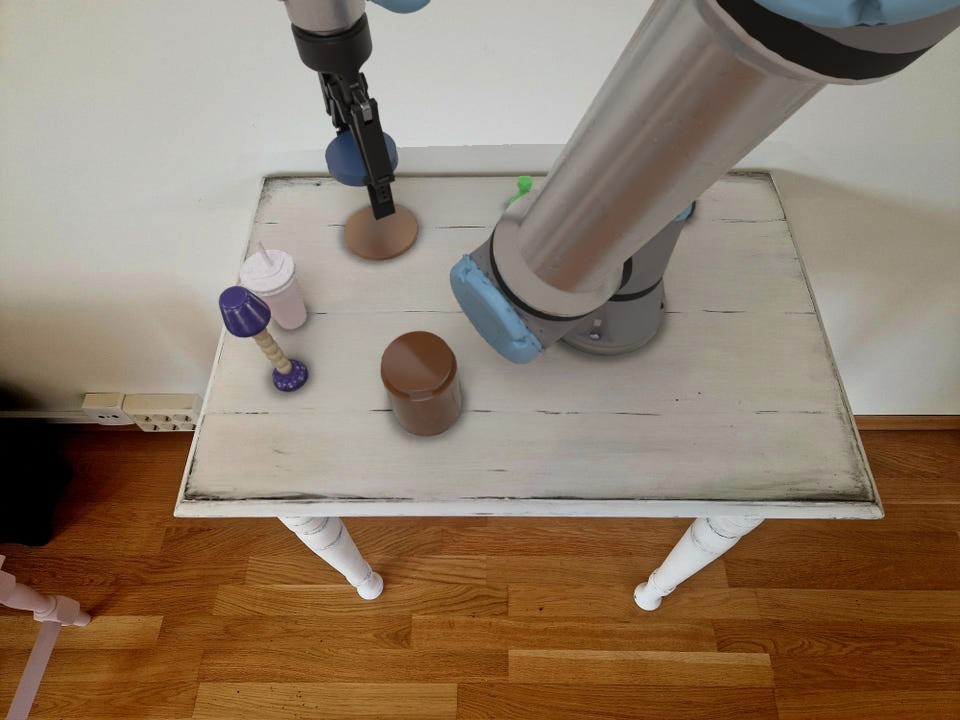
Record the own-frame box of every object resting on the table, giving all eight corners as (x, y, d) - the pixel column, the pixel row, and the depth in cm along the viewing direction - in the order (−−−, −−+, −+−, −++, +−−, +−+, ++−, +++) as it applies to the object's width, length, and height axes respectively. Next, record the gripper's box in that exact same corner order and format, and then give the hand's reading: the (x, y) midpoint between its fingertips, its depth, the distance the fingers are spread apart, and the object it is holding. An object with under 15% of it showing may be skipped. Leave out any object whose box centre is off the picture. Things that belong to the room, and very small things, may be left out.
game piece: (544, 213, 83) (547, 180, 78) (518, 223, 82) (519, 191, 77) (528, 194, 85) (531, 161, 80) (503, 204, 84) (504, 172, 79)
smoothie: (326, 318, 74) (293, 244, 62) (284, 346, 72) (242, 276, 60) (299, 289, 77) (262, 213, 65) (258, 316, 74) (212, 242, 62)
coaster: (399, 197, 85) (399, 194, 85) (429, 243, 80) (429, 240, 80) (334, 222, 83) (333, 219, 82) (361, 271, 78) (360, 268, 77)
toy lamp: (297, 399, 68) (243, 319, 54) (262, 390, 69) (200, 309, 54) (313, 366, 70) (267, 280, 56) (279, 357, 71) (224, 271, 57)
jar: (443, 365, 70) (435, 316, 61) (473, 417, 66) (469, 373, 57) (383, 393, 68) (365, 347, 59) (410, 448, 65) (397, 407, 56)
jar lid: (342, 196, 68) (338, 185, 67) (318, 153, 72) (314, 142, 71) (409, 171, 70) (407, 160, 68) (382, 131, 74) (380, 119, 72)
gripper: (258, -24, 60) (316, 153, 79) (330, 86, 50) (376, 257, 69) (325, -42, 61) (366, 136, 81) (408, 60, 52) (431, 234, 71)
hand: (370, 192), depth 75 cm, fingers closed on jar lid, 9 cm apart
